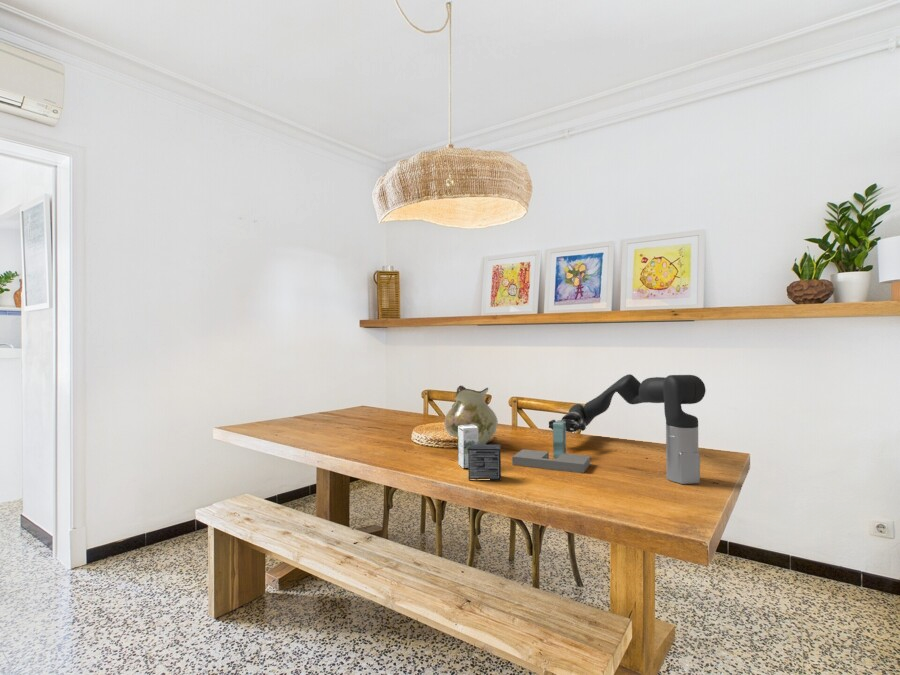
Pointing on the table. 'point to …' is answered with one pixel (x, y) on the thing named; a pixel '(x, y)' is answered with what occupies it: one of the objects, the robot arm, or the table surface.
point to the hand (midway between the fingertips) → (563, 428)
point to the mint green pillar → (559, 438)
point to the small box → (484, 462)
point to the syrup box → (466, 442)
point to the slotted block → (551, 461)
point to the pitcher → (471, 414)
